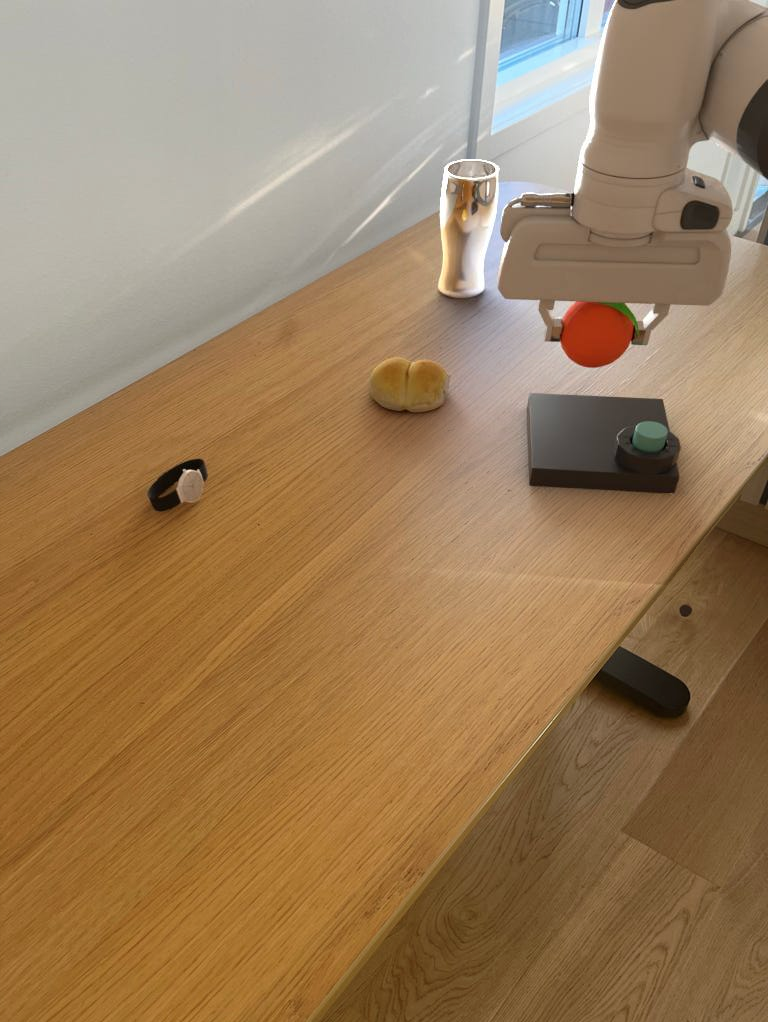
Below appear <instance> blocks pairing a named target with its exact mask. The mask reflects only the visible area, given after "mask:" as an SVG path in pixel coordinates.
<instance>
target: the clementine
mask: <svg viewBox="0 0 768 1022" xmlns="http://www.w3.org/2000/svg"><path fill="white" fill-rule="evenodd" d="M637 321H638V320H637V318H636V316H635V314H634V313H633V312H632V310H631V309H630V307H628V305H627V303H608V302H576V301H574V303H573V304H572V305H570V306H569V307H568V309H567V310H566V312H565V313H564V315H563V317H562V326H563V327H562V333H561V334H560V335H561V339H560V342H559V343H560V346H561V349H562V350H563V353H565V355H566V356H567V358H568V359H569V360H570V361H572V362H573V363H574V364H576V365H578V366H580V367H584V368H589V369H590V368H591V369H596V368H597V369H598V368H601V367H605V366H608V365H611V364H612V363H614V362H616V361H617V360H618V359H619V358H621V357H622V356H623V355H624V354H625V352H626V351H627V349H628V348H629V347H630V344H631V339H632V336H633V331H634V325H635V326H636V329H637V332H638V336H639V328H638V324H637Z"/></svg>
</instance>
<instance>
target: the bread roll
mask: <svg viewBox="0 0 768 1022" xmlns="http://www.w3.org/2000/svg"><path fill="white" fill-rule="evenodd" d="M450 381H451V375H450V374H449V373H448V371H447V370H446V369H445V368H444V367H443V366H442V365H440V364H439V363H438V362H436V361H433V360H432V359H428V358H423V359H418V360H415V361H410V360H408V359H407V358H404V357H399V356H394V357H389V358H387V359H385V360H383V361H382V362H380V363H379V364H377V366H375V368H373V370H372V372H371V374H370V376H369V378H368V390H369V394H370V395H371V397H372V399H373V400H374V401H375V402H376V403H377V404H379V405H380V406H381V407H383V408H385V409H387V410H391V411H396V412H402V411H405V410H407V411H408V412H411V413H424V412H429V411H432V410H436V409H437V408H439V407H441V406H442V405H443V404H444V403H445V400H446V399H447V398H448V397H447V396H448V392H449V387H450Z"/></svg>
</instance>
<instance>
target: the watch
mask: <svg viewBox="0 0 768 1022" xmlns="http://www.w3.org/2000/svg"><path fill="white" fill-rule="evenodd" d="M208 477H209V474H208V469H207V466H206V462H205V460H204V459H202V458H192V459H189V460H186V461H183V462H181V463H179V464H177V465H175V466H173V467H172V468H170V469H168V470H167V471H165V472H163V474H161V475H159V477H158V478H157V479H156V480H155V481H154V482H153V483H152V484H151V485H150V487H149V488H148V490H147V496H148V499H149V502H150V504H151V507H152V509H153V510H154V511H155V512H166V511H169V510H172V509H174V508H175V507H177V506H179V505H180V504H181V505H182V504H183V503H188V504H192V503H196V502H197V501H198V500H199V499H200V498H201V496H202V495H203V492H204V491H203V490H204V485H205V482H206V481H207V480H208ZM176 483H177V487H176V488H175V489H174V490H173V491H171V492H169V493H167V494H166V495H163V494H164V493H165V492H166V491H167V490H169V489H170V488H172V487H173V486H174V485H175V484H176ZM162 495H163V496H162Z"/></svg>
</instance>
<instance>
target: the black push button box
mask: <svg viewBox="0 0 768 1022" xmlns="http://www.w3.org/2000/svg"><path fill="white" fill-rule="evenodd" d="M646 421H651V422H657V423H660V424H662V425H664V426H665V427H666V428H667V430H668V434H667V438H666V441H665V445H664V448H663V449H662V450H661V451H659V452H645V451H642V450H639V449H636V448H635V447H634V446H633V444H632V440H633V436H634V433H635V429H636V426H637V425H638V424H639V423H642V422H646ZM526 432H527V433H526V437H527V465H528V486H530V487H543V488H559V489H560V488H561V489H576V490H577V489H580V490H593V491H595V490H596V491H614V492H631V493H649V494H663V493H668V494H667V495H670V494H669V493H674V494H675V493H676V489H677V486H678V483H679V480H680V473H679V468H678V463H677V462H678V458H679V455H680V453H681V448H682V447H681V443H680V438H679V437H677V436H676V435H675V434H674V433H673V432H671V430H670V426H669V422H668V416H667V413H666V408H665V403H664V399H663V398H652V397H651V398H650V397H629V396H627V397H626V396H607V395H583V394H581V395H580V394H561V393H560V394H559V393H541V392H540V393H539V392H538V393H537V392H529V393H528V398H527V405H526Z"/></svg>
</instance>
